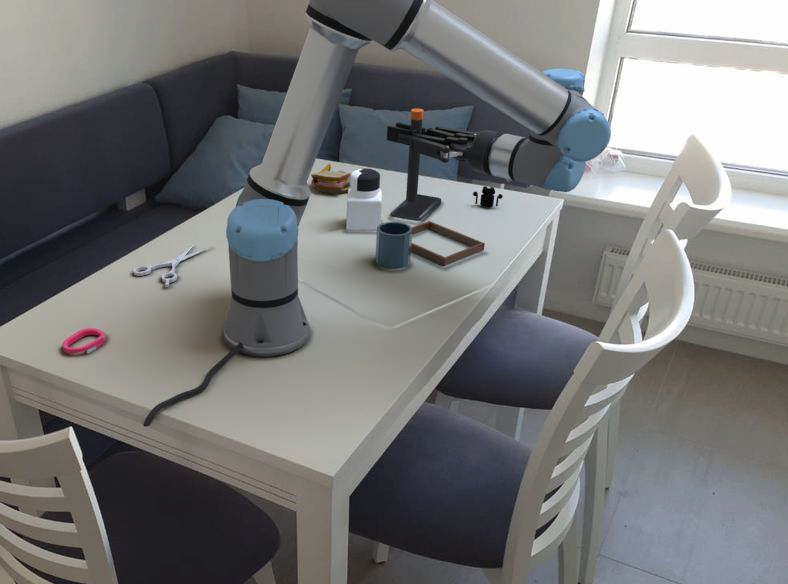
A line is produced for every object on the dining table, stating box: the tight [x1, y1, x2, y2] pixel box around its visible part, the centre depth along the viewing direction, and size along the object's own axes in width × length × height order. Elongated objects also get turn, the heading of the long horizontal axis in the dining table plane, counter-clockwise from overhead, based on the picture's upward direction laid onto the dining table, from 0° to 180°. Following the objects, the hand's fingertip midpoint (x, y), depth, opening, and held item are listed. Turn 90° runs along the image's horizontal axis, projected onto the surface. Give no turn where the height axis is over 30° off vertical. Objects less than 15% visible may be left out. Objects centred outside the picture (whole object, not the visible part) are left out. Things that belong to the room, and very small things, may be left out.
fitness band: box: [62, 327, 107, 355], centre depth 142 cm, size 8×6×2 cm
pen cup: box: [375, 221, 413, 269], centre depth 165 cm, size 7×7×8 cm
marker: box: [405, 108, 425, 202], centre depth 157 cm, size 2×2×18 cm
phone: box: [390, 193, 442, 223], centre depth 191 cm, size 8×1×15 cm
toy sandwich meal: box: [310, 163, 351, 194], centre depth 205 cm, size 12×14×5 cm
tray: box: [411, 220, 486, 267], centre depth 173 cm, size 12×16×2 cm
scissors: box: [133, 243, 210, 288], centre depth 169 cm, size 11×1×20 cm
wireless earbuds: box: [472, 185, 504, 209], centre depth 192 cm, size 7×2×5 cm, turn 70°
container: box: [345, 167, 383, 231], centre depth 181 cm, size 8×8×13 cm
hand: (392, 131), depth 158 cm, fingers closed on marker, 2 cm apart
